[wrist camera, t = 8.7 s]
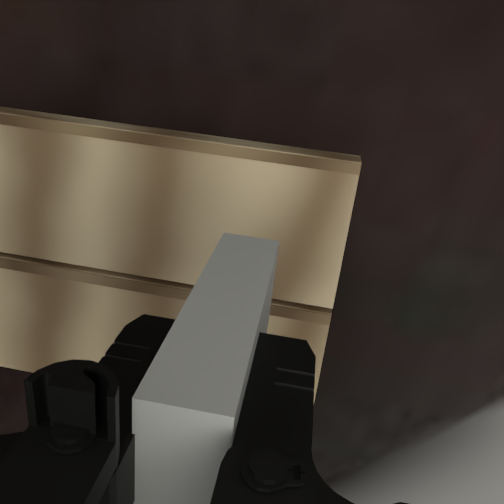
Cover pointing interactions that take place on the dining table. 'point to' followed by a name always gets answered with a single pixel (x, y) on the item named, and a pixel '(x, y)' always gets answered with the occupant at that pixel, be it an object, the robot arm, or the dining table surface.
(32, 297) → the laid plank
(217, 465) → the robot arm
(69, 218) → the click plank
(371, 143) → the dining table surface
